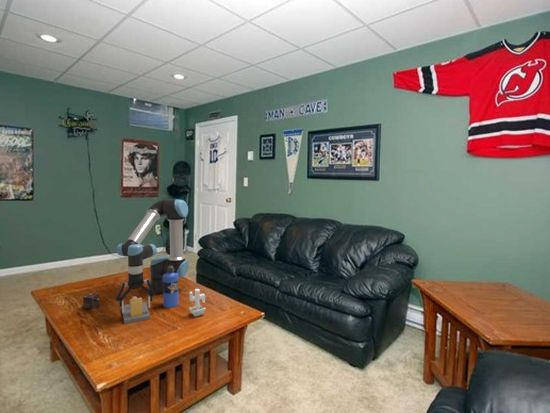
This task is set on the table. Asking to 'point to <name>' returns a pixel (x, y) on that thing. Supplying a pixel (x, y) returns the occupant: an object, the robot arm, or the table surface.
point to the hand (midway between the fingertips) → (136, 309)
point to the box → (91, 301)
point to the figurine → (197, 303)
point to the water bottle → (170, 288)
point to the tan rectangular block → (136, 307)
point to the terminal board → (130, 319)
